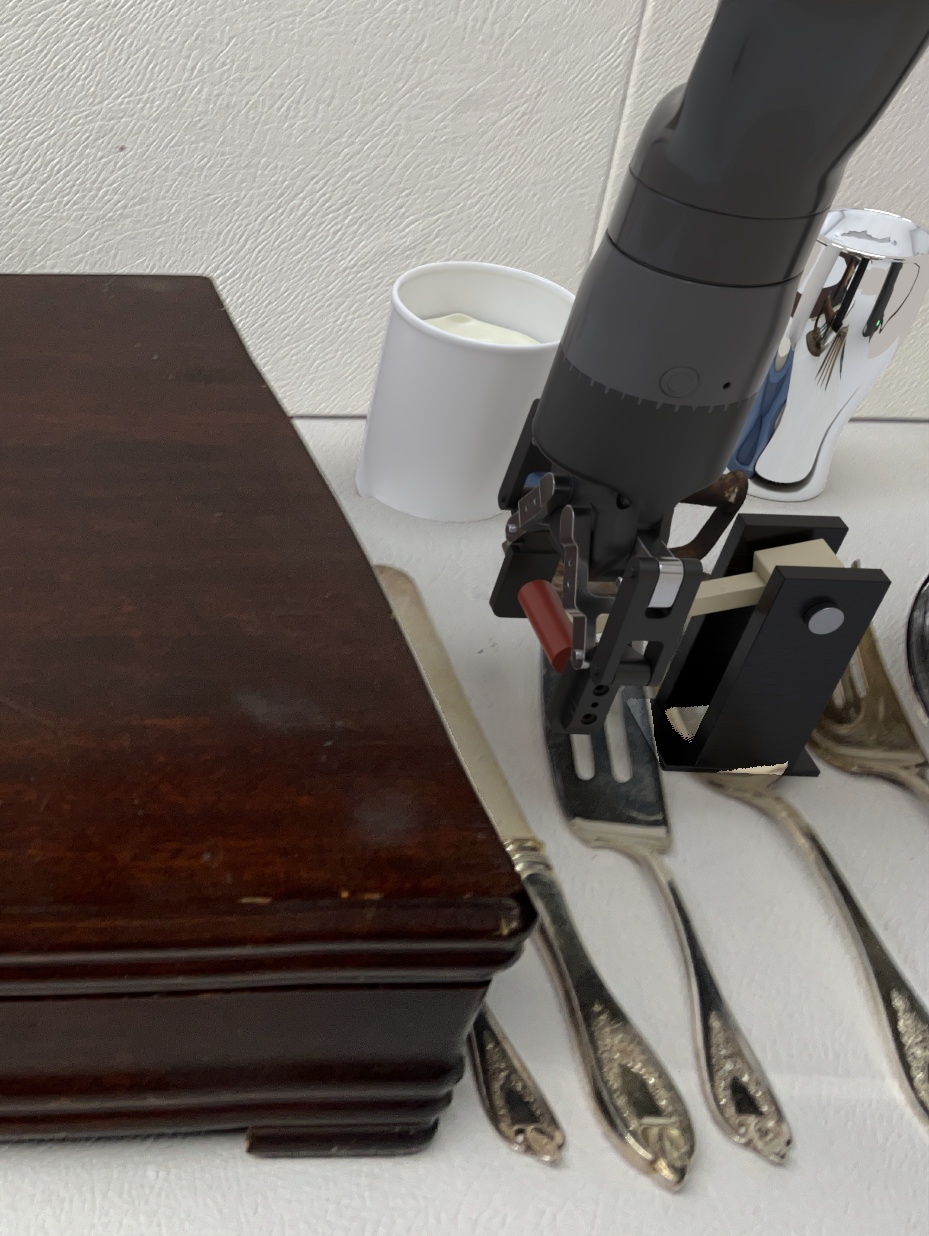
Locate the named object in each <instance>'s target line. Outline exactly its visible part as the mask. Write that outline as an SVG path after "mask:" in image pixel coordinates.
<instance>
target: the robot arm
mask: <svg viewBox="0 0 929 1236" xmlns="http://www.w3.org/2000/svg"><path fill="white" fill-rule="evenodd" d="M928 48H929V0H718V1H717V4H716V8H715V10H714V14H713V17H712V19H711V22H710V25H709V28H708V29H707V32H706V35H705V37H704V39H703V42H702V45H701V46H700V49H699V51H698V53H697V56H696V59H695V60H694V63H693V65H692V68H691V70H690V73H689V75H688V77H687V80H686V81H685V82H683V83H681V84H679V85H677V86H676V87H673V89H671V90H669V91H668V92H667V93H665V95H663V96H662V98H661V99H660V100H659V101H658V102H657V103H656V105H655V106H654V107H653V109H652V111H651V113H650V114H649V116H648V118H647V120H646V122H645V124H644V125H643V128H642V130H641V132H640V135H639V137H638V139H637V142H636V145H635V147H634V150H633V152H632V155H631V157H630V161H629V163H628V165H627V169H626V172H625V174H624V177H623V180H622V182H621V186H620V189H619V191H618V194H617V197H616V199H615V203H614V206H613V208H612V211H611V214H610V218H609V220H608V223H607V227H606V229H605V230H604V234H603V236H602V239H601V241H600V243H599V245H598V247H597V249H596V250H595V253H594V255H592V256H593V257H592V258H591V260H590V262H589V264H588V267H587V268H586V270H585V272H584V274H583V276H582V279H581V281H580V284H579V286H578V288H577V292H576V294H575V296H576V297H575V300H574V303H573V306H572V309H571V312H570V315H569V318H568V321H567V323H566V326H565V329H564V332H563V335H562V337H561V340H560V343H559V346H558V349H557V352H556V355H555V357H554V360H553V363H552V366H551V369H550V372H549V375H548V378H547V381H546V384H545V386H544V389H543V392H542V395H541V398H537V399H535V400H534V401H533V403H532V405H531V408H530V411H529V413H528V416H527V419H526V421H525V424H524V426H523V429H522V432H521V434H520V437H519V440H518V442H517V445H516V448H515V450H514V453H513V455H512V458H511V461H510V463H509V466H508V469H507V471H506V474H505V477H504V479H503V482H502V485H501V487H500V490H499V493H498V506H499V508H500V509H501V510H504V511H510V514H511V515H510V517H509V518H508V519H507V521H506V524H505V528H504V536H505V539H506V540H507V541H508V542H509V543H511V545H509V546H508V549H507V552H506V555H505V554H504V558H503V561H502V564H501V567H500V569H499V572H498V575H497V578H496V581H495V583H494V586H493V590H492V592H491V595H490V598H489V600H488V604H489V605H488V606H489V607H490V609H491V611H492V612H493V615H494V616H495V617H497V618H501V619H502V618H505V619H528V618H527V616H526V614H525V612H524V610H523V608H522V606H521V604H520V602H519V600H518V593H519V591H520V589H521V588H522V587H523V586H524V585H525V584H527V583H529V582H531V581H534V580H545V581H548V582H550V583H551V582H552V580H553V577H554V575H555V572H556V569H557V567H558V564H559V561H560V559H561V558H562V561H563V564H564V576H563V594H562V606H563V609H564V610H565V611H566V612H567V613H569V614H570V615H571V616H572V617H573V631H572V649H571V657H569V658H568V660H567V663H566V665H565V668H564V670H563V673H561V675H560V679H559V681H558V683H557V686H556V688H555V690H554V693H553V696H552V699H551V700H550V703H549V705H548V708H547V710H546V713H545V721H546V723H547V725H548V728H549V729H550V731H551V732H552V733H554V734H558V735H579V736H580V735H581V736H585V735H586V736H590V735H595V734H596V733H598V732H600V731H601V729H602V728H603V727H604V724H605V722H606V719H607V717H608V715H609V713H610V711H611V708H612V706H613V704H614V700H615V698H616V697H617V694H618V692H619V690H620V688H621V686H623V687H624V686H625V687H652V688H653V687H654V688H655V687H656V688H657V687H660V686H661V684H662V682H663V680H664V677H665V675H666V673H667V670H668V668H669V665H670V663H671V662H670V661H671V660H672V657H673V654H674V653H675V652H674V651H675V650H676V647H677V644H678V642H679V639H680V637H681V634H682V631H683V630H684V628H685V627H684V626H685V624H686V621H687V620H688V618H689V617H688V614H689V612H690V609H691V607H692V604H693V602H694V599H695V597H696V594H697V592H698V589H699V587H700V584H701V582H702V578H703V572H704V567H703V563H702V560H699V559H689V558H675V557H674V555H673V554H672V553H671V551H670V550H669V549H668V548H669V547H668V544H669V541H670V538H671V537H670V536H671V528H672V522H673V517H674V513H675V509H676V507H677V506H678V505H679V504H681V503H680V502H681V501H682V500H684V499H685V498H687V497H689V496H690V495H692V494H694V493H696V492H698V491H700V490H702V489H704V488H706V487H708V486H710V485H711V484H713V483H714V482H715V481H717V480H718V479H719V478H720V477H721V476H722V474H723V473H724V471H725V469H726V467H727V465H728V462H729V460H730V458H731V455H732V453H733V451H734V448H735V446H736V444H737V442H738V439H739V437H740V435H741V432H742V430H743V428H744V425H745V423H746V421H747V418H748V416H749V414H750V412H751V410H752V407H753V405H754V403H755V400H756V398H757V396H758V394H759V391H760V389H761V387H762V384H763V382H764V380H765V377H766V375H767V373H768V370H769V368H770V366H771V363H772V361H773V359H774V357H775V354H776V352H777V350H778V347H779V345H780V343H781V340H782V338H783V336H784V333H785V331H786V328H787V325H788V323H789V320H790V316H791V313H792V309H793V305H794V301H795V297H796V293H797V289H798V286H799V282H800V280H801V277H802V274H803V271H804V268H805V265H806V263H807V261H808V258H809V256H810V254H811V251H812V249H813V247H814V244H815V242H816V240H817V238H818V235H819V233H820V231H821V228H822V226H823V224H824V221H825V219H826V217H827V214H828V212H829V210H830V207H831V206H833V202H834V201H835V199H836V197H837V194H838V192H839V189H840V187H841V183H842V182H843V178H844V174H845V171H846V169H847V166H848V163H849V162H850V160H851V158H853V155H854V154H855V153H856V151H857V150H858V149H859V147H860V146H861V144H862V143H863V142H864V140H866V139H867V137H868V136H869V135H870V134H871V132H872V130H874V128H875V127H876V126H877V124H878V123H879V121H880V120H881V119H882V117H883V116H884V114H885V113H886V112H887V110H888V108H889V107H890V106H891V104H892V102H893V101H894V100H895V98H896V96H897V95H898V94H899V92H900V91H901V89H902V87H903V86H904V84H905V83H906V82H907V80H908V79H909V78H910V75H911V74H912V72H913V71H914V69H915V68H916V67H917V65H918V64H919V62H920V60H921V59H922V57H923V56H924V55H925V53H926V51H927V50H928ZM534 472H549V473H547V474H546V475H544V476H543V477H542V478H541V479H539V485H538V486H524V485H525V482H526V480H527V477H528V476H529V475H530V474H531V473H534ZM675 506H676V507H675ZM506 540H505V541H506ZM588 582H607V583H615V582H616V587H617V588H618V592H617V594H616V597H611V596H596V595H594V594H592V593H591V592H590V590H589V588H588ZM601 614H609V616H608V619H607V621H606V624H605V627H604V630H603V632H602V633H601V635H600V638H599V641H597V634H596V629H597V619H598V617H599V616H600V615H601ZM644 642H647V644H646V646H645V648H644Z"/></svg>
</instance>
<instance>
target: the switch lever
mask: <svg viewBox="0 0 929 1236" xmlns="http://www.w3.org/2000/svg"><path fill="white" fill-rule="evenodd" d="M776 565H784V566H813V567H843V568H846V567H845V565H844V564H843V563H842V561H841V560H840V559H839V558H838V556H837V554H836V555H835V554H834V552H833V551H832V550H831V548H830V547H829V546H828V544H827V543H826V542H825V541H824V539H817V540H812V541H806V542H801V543H796V544H791V545H785V546H780V547H775V548H770V549H764V550H759V551H755V552H754V559H753V571H752V572H751V573H745V574H740V575H735V576H729V577H724V578H719V579H713V580H708V581H703V582H701V584H700V587H699V589H698V592H697V594H696V597H695V599H694V602H693V604H692V607H691V609H690V612H689V614H688V617H687V618H691V617H692V616H696V615H701V614H707V613H712V612H718V611H723V610H728V609H734V608H739V607H745V606H750V605H756V604H757V603H758V601H759V599H760V597H761V595H762V593H763V591H764V589H765V587H766V584H767V582H768V580H769V578H770V576H771V574H772V572H773V570H774V568H775V566H776ZM518 600H519V602H520V604H521V606H522V608H523V610H524V612H525V614H526V616H527V618H526V619H527V620H528V622H529V624H530V626H531V628H532V630H533V632H534V633H535V636H536V638H537V640H538V641H539V643H540V645H541V648H542V649H543V651H544V654H545V655H546V657H547V660H548V662H549V663H550V665H551V667H552V669H553V670H554V671H556V672H557V673H560V674H562V673H563V670H564V668H565V665H566V663H567V660H568V658H569V657H571V649H572V631H573V617H572V616H571V615H570V614H569V613H567V612H566V611H565V610H564V609H563V606H562V602H561V600H560V598H559V596H558V595H557V593H556V591H555V589H554V587H553V585H552V584H551V583H550V582H548V581H545V580H534V581H531V582H529V583H527V584H525V585H524V586H523V587H522V588H521V589H520V591H519V593H518ZM608 616H609V614H601V615H600V616H599V617H598V619H597V629H596V635H598V634H602V632H603V630H604V627H605V624H606V621H607V619H608Z"/></svg>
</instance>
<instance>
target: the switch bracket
mask: <svg viewBox="0 0 929 1236" xmlns="http://www.w3.org/2000/svg"><path fill="white" fill-rule="evenodd" d="M849 530H850V528H849V527H848V525H847V524H846V522H845V521H844V520H843V519H842V517H840V516H839V515H812V514H810V515H809V514H805V515H804V514H783V513H782V514H781V513H748V512H737V514H736V516H735V519H734V521H733V523H732V526H731V528H730V530H729V533H728V534H727V537H726V538H725V541H724V544H723V546H722V548H721V550H720V552H719V555H718V557H717V559H716V562H715V563H714V565H713V568H712V570H711V572H710V574H711V575H710V577H709V579H708V580H713V579H719V578H724V577H729V576H735V575H740V574H745V573H751V572H752V571H753V559H754V552H755V551H759V550H764V549H770V548H775V547H780V546H785V545H791V544H796V543H801V542H806V541H812V540H817V539H824V541H825V542H826V543H827V544H828V546H829V547H830V548H831V550H832V551H833V552H834V554H835V555H836V556H837V554H838V552H839V550H840V548H841V546H842V544H843V542H844V540H845V538H846V536H847V534H848V532H849ZM892 583H893V582H892V580H891V579H890V578H889V576H888V575H887V574H886V572H885V571H884V570H883V569H882V568H872V567H871V568H869V567H845V568H843V567H813V566H784V565H776V566H775V568H774V570H773V572H772V574H771V576H770V578H769V580H768V582H767V584H766V587H765V589H764V591H763V593H762V595H761V597H760V599H759V601H758V603H757V604H756V605H750V606H745V607H739V608H734V609H728V610H723V611H718V612H712V613H707V614H701V615H696V616H691V617H690V619H689V622H688V624H687V625H686V628H685V631H684V633H683V635H682V637H681V640H680V642H679V644H678V646H677V648H676V650H675V652H674V655H673V656H672V657H673V658H671V662H670V663H669V665H668V667H667V670H666V672H665V674H664V677H663V679H662V682H661V683H660V685H659V689H658V691H657V693H656V695H655V698H654V697H651V698H650V697H649V698H650V703H651V710H652V716H653V724H654V737H655V741H656V746H657V753H658V756H659V762H660V765H659V767H660V769H661V770H662V771H663V772H674V773H675V772H677V773H702V774H704V773H705V774H718V773H717V772H719V771H721V770H722V771H727V770H729V771H732V770H734V769H736V770H737V769H738V768H742V769H743V768H745V769H746V768H750V767H752V768H753V767H757V766H761V767H762V766H764V765H765V766H771V765H772V766H774V765H776V764H784V763H786V762H787V761H788V767H787V768H786V769H785V771H784V773H783V774H782V776H781V777H804V778H805V777H807V778H818V777H819V776H820V775H821V770H820V769H819V767H818V765H817V764H816V762H815V761H814V760H813V759H814V758H813V757H812V756H811V755H810V754H809V752H808V750H807V749H806V746H807V744H808V742H809V741H810V738H811V736H812V734H813V732H814V730H815V728H816V727H817V725H818V723H819V721H820V719H821V717H822V716H823V713H824V712H825V710H826V707H827V706H828V704H829V702H830V700H831V698H832V696H833V694H834V693H835V691H836V689H837V687H838V685H839V683H840V682H841V679H842V678H843V675H844V673H845V672H846V670H847V668H848V666H849V664H850V663H851V661H852V658H853V656H854V655H855V653H856V651H857V649H858V647H859V646H860V644H861V641H862V640H863V638H864V636H865V634H866V632H867V631H868V628H869V626H870V624H871V623H872V621H873V619H874V617H875V615H876V613H877V612H878V610H879V607H880V606H881V604H882V603H883V600H884V598H885V596H886V595H887V592H888V591H889V589H890V587H891V585H892ZM702 705H703V706H707V705H709V707H708V709H707V711H706V713H705V715H704V717H703V719H702V721H701V723H700V725H699V728H698V730H697V732H696V734H695V736H693V737H694V738H693V737H691V738H693V739H691V738H689V739H691V740H689V739H687V738H688V737H686V738H685V739H687V740H685V739H683V738H684V737H681V736H683V735H680V734H678V733H679V732H676V731H677V730H676V731H675V729H672V728H674V727H672V726H673V725H671V723H670V721H668V720H669V719H667V718H668V717H667V715H666V714H665V713H666V712H665V710H666V711H667V709H670V708H671V707H672V708H673V707H681V708H682V707H685V708H686V707H691V706H692V707H694V706H697V707H698V706H702ZM681 734H682V733H681ZM688 735H689V734H688ZM692 735H693V734H692ZM688 740H689V741H688ZM690 741H692V742H690ZM689 742H690V743H689Z"/></svg>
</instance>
